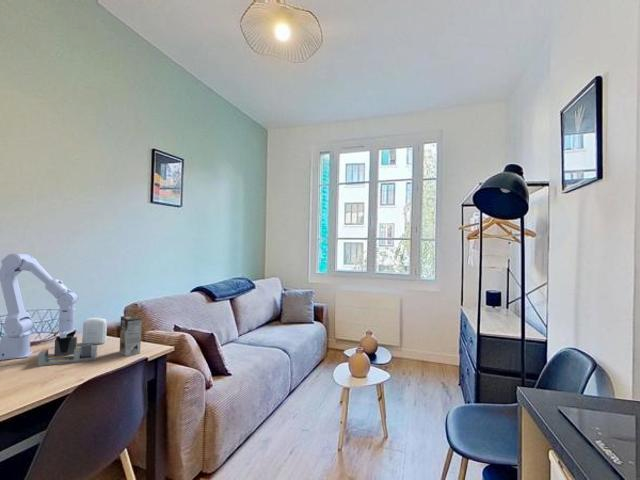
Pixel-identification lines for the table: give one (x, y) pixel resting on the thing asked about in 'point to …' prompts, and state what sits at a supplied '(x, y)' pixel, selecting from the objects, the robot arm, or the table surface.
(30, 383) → the table surface
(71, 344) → the panel
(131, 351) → the coffee box
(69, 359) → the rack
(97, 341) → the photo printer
